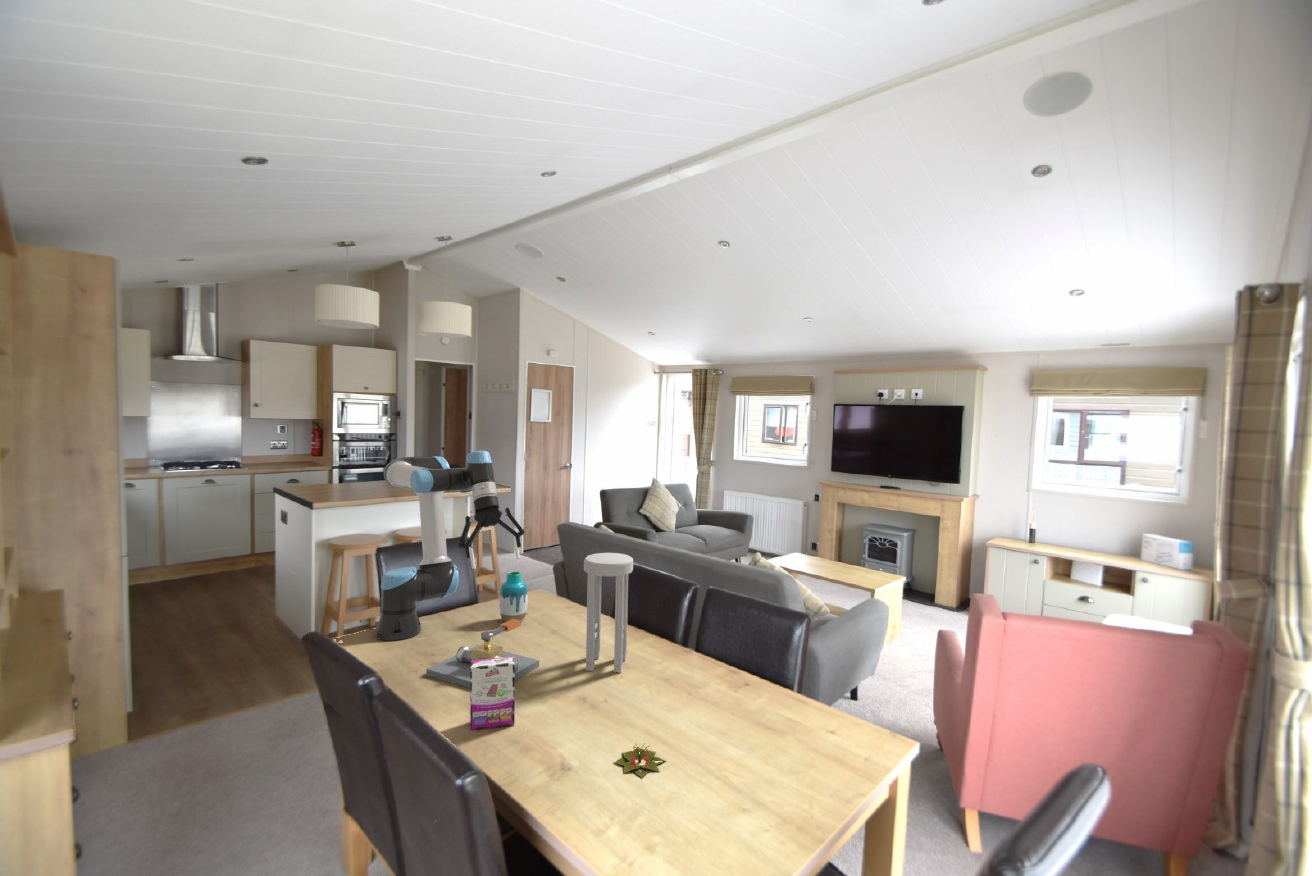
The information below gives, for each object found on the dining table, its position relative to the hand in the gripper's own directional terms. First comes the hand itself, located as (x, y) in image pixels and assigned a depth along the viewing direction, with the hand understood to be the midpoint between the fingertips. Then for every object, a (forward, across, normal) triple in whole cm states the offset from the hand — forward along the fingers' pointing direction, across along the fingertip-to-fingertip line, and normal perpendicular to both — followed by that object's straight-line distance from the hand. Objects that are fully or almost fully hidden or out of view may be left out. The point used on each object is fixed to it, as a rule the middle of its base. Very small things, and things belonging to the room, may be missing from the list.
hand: (496, 563), depth 183 cm
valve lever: (+20, -3, +12) cm, 24 cm away
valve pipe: (+30, -9, +10) cm, 33 cm away
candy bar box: (+43, -6, -18) cm, 47 cm away
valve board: (+30, -10, +12) cm, 34 cm away
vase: (+17, -3, +54) cm, 57 cm away
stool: (+38, +28, +14) cm, 49 cm away
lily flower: (+58, +29, -37) cm, 75 cm away
